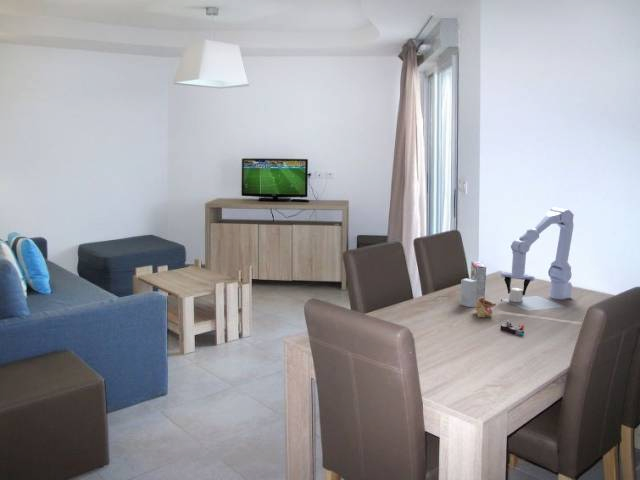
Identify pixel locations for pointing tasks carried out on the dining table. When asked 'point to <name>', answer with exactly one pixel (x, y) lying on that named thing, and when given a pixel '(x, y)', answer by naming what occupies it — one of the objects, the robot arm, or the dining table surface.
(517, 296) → the knob
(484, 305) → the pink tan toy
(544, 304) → the board
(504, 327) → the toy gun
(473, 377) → the dining table surface
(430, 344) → the dining table surface
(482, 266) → the candy bar box
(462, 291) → the skincare box
